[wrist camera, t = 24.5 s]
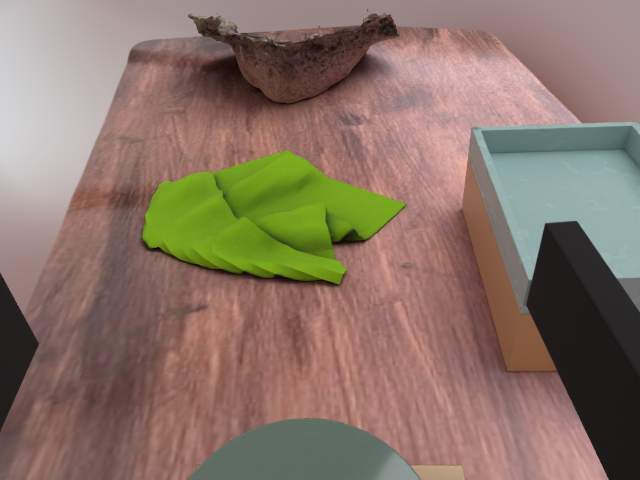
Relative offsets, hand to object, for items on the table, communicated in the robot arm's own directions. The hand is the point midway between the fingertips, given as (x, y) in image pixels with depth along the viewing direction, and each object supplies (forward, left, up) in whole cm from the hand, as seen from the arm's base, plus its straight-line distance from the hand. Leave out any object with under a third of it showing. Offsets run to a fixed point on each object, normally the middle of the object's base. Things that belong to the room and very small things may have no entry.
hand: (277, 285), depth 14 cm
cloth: (+29, +5, -19) cm, 35 cm away
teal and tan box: (+21, -17, -19) cm, 33 cm away
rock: (+59, +5, -19) cm, 62 cm away
